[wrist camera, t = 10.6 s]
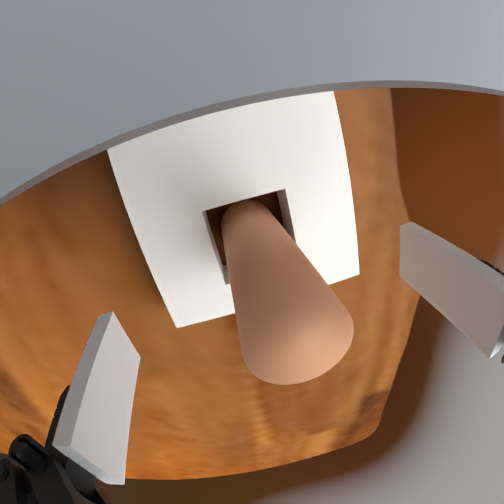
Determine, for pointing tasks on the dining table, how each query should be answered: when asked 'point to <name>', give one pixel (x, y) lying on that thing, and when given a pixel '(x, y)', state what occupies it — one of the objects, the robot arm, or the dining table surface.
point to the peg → (280, 300)
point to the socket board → (222, 111)
